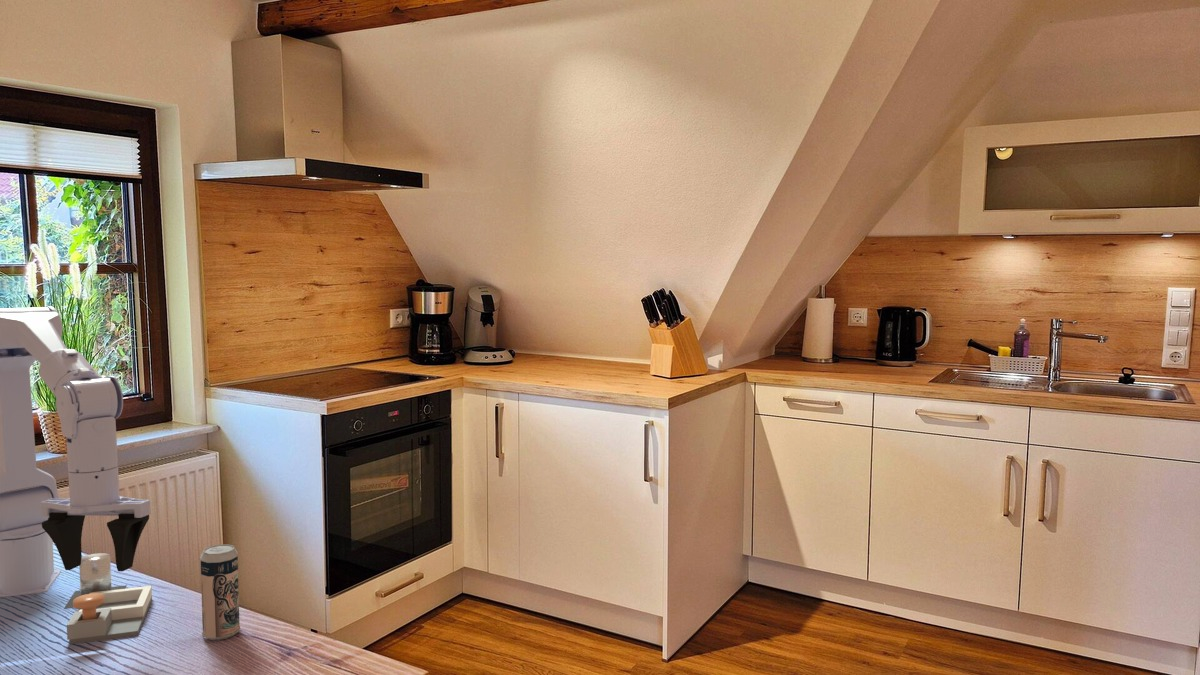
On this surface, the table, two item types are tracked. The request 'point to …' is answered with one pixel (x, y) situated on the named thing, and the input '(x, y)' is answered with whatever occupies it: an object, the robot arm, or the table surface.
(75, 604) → the button
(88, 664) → the table surface
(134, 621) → the station
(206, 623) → the beer can
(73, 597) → the mat
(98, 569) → the billet
